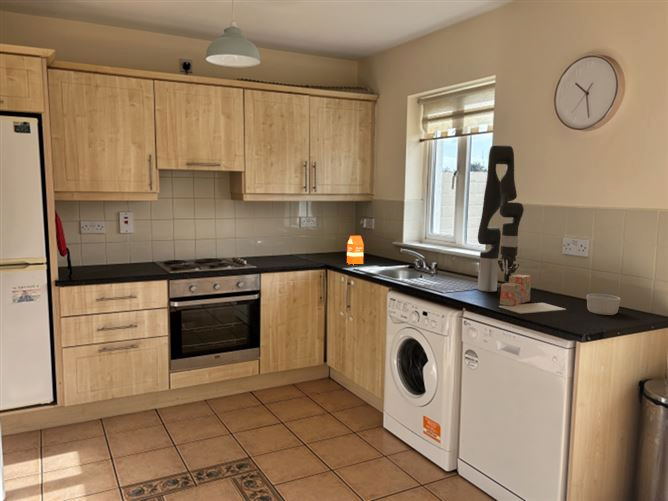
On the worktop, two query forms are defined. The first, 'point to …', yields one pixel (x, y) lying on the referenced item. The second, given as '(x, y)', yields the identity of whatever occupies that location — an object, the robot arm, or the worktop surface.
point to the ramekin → (603, 304)
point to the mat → (532, 308)
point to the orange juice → (355, 250)
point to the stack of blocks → (516, 290)
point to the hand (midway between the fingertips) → (507, 281)
